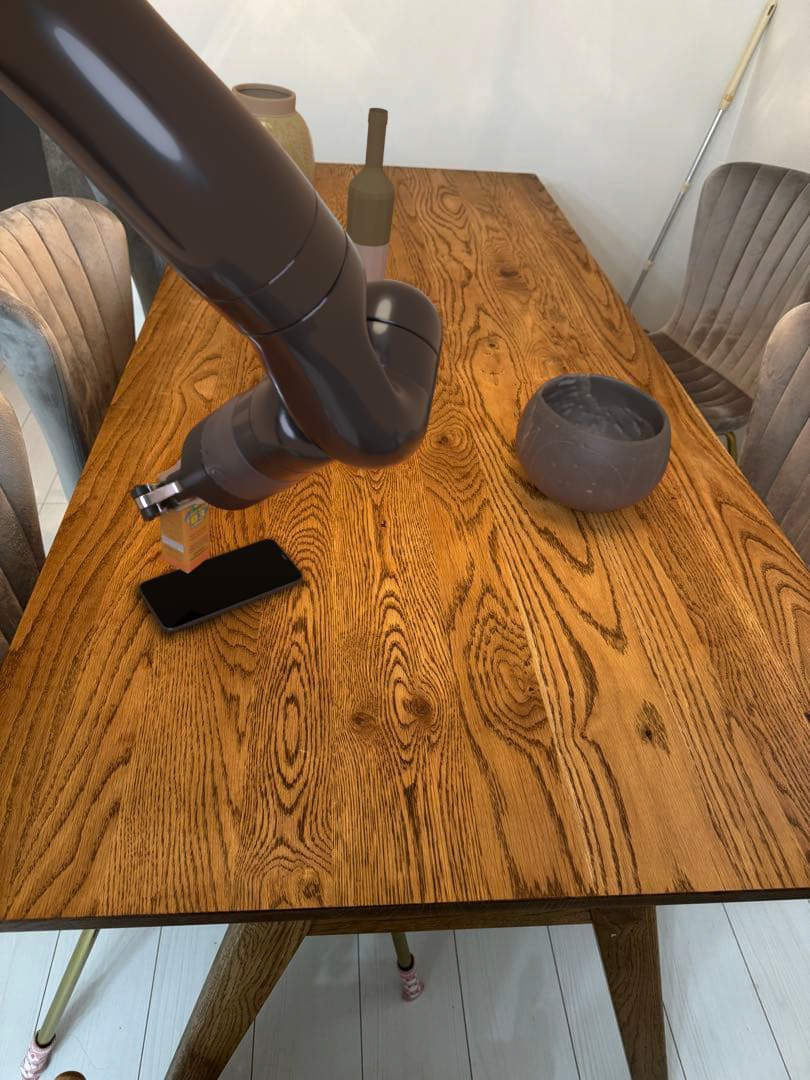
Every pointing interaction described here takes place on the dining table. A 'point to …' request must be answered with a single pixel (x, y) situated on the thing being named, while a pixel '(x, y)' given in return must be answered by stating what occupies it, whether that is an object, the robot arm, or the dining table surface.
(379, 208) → the bottle
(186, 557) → the supplement box
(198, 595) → the smartphone
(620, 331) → the dining table surface
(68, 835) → the dining table surface
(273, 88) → the vase
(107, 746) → the dining table surface
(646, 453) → the bowl
